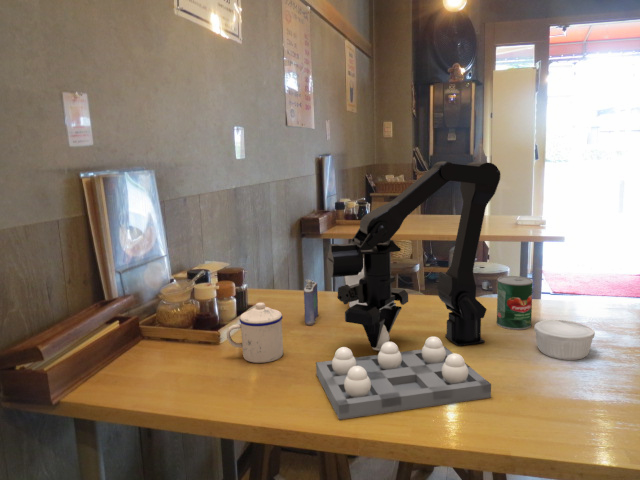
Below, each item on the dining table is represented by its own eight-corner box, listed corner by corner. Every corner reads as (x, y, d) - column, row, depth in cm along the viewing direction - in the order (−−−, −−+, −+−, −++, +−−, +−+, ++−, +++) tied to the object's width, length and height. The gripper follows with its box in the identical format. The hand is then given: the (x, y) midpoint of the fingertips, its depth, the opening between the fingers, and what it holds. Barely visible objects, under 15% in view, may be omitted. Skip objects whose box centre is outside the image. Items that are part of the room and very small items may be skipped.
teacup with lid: (283, 346, 118) (280, 296, 116) (285, 362, 109) (282, 308, 107) (229, 350, 117) (226, 299, 115) (227, 366, 108) (223, 312, 106)
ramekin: (600, 350, 109) (601, 325, 108) (583, 367, 101) (584, 341, 100) (545, 338, 116) (546, 315, 116) (525, 353, 108) (526, 329, 108)
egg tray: (316, 374, 102) (315, 341, 101) (444, 358, 108) (445, 327, 106) (339, 419, 85) (337, 380, 84) (490, 397, 90) (491, 360, 89)
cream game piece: (385, 343, 116) (385, 318, 115) (392, 350, 111) (392, 325, 110) (365, 345, 115) (365, 320, 114) (372, 353, 110) (371, 327, 109)
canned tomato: (519, 332, 121) (521, 286, 119) (489, 324, 127) (490, 280, 125) (537, 324, 125) (539, 279, 124) (508, 316, 132) (509, 274, 130)
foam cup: (355, 316, 137) (354, 267, 135) (338, 307, 145) (336, 261, 143) (385, 309, 141) (384, 262, 139) (367, 301, 149) (366, 257, 147)
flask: (314, 326, 130) (312, 284, 129) (302, 325, 131) (300, 284, 129) (319, 314, 139) (317, 275, 138) (308, 314, 140) (306, 275, 138)
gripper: (364, 261, 122) (366, 325, 125) (321, 279, 107) (324, 351, 109) (408, 265, 116) (409, 332, 119) (369, 285, 101) (371, 361, 103)
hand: (378, 343), depth 113 cm, fingers closed on cream game piece, 5 cm apart
